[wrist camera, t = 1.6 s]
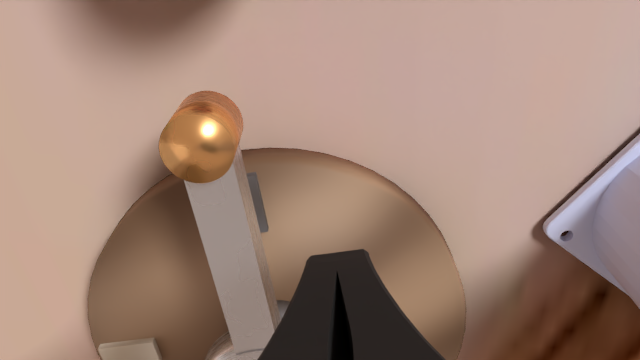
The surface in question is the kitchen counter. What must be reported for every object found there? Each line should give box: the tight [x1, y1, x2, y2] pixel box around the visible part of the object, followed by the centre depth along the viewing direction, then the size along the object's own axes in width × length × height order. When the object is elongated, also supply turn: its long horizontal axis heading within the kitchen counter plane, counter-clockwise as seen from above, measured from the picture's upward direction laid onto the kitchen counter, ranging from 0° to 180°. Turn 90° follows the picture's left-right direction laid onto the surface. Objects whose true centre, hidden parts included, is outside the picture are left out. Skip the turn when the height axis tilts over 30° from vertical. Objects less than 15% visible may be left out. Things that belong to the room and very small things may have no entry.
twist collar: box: [159, 91, 281, 360], centre depth 18 cm, size 14×6×2 cm, turn 8°
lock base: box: [88, 148, 466, 360], centre depth 23 cm, size 16×16×4 cm
